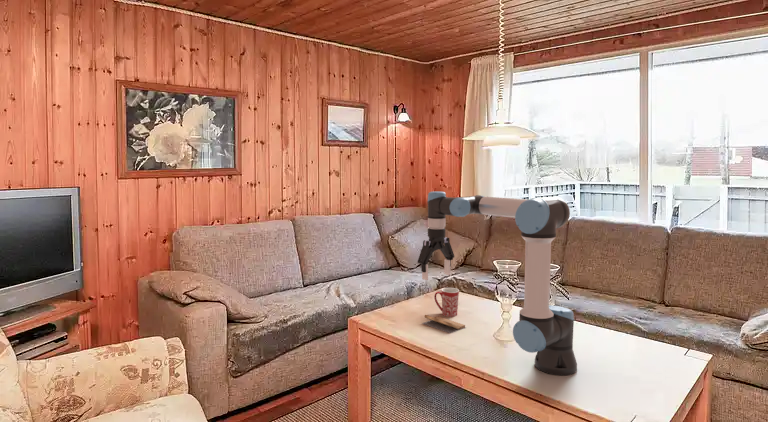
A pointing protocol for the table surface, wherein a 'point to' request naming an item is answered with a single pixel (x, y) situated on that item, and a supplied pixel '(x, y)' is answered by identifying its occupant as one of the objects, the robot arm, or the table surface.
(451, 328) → the floor panel
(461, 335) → the table surface
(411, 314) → the table surface
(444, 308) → the mug
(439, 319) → the plank
